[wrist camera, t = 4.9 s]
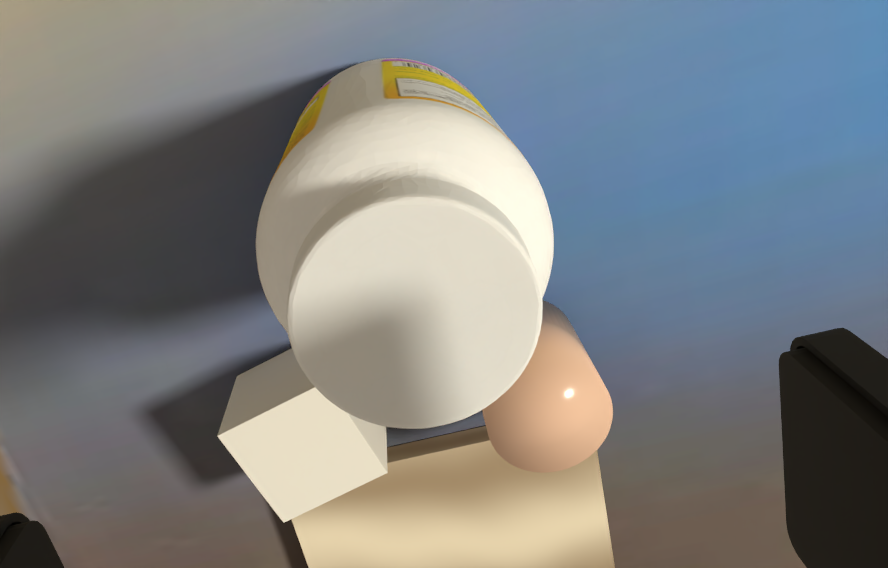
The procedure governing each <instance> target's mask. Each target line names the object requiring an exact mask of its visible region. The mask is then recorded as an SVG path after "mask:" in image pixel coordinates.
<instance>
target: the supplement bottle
mask: <svg viewBox="0 0 888 568" xmlns="http://www.w3.org/2000/svg"><path fill="white" fill-rule="evenodd" d="M553 248H554V241H553V226H552V220H551V216H550V212H549V208H548V204H547V201H546V198H545V195H544V192H543V190H542V187H541V185H540V183H539V181H538V179H537V177H536V175H535V173H534V171H533V170H532V168H531V167H530V165H529V164H528V162H527V161H526V159H525V158H524V156H523V155H522V154H521V152H520V151H519V150H518V149H517V147H516V146H515V145H514V144H513V142H512V141H511V140H510V139H509V138H508V137H507V136H506V134H505V133H504V132H503V131H502V129H501V128H500V127H499V126H498V124H497V123H496V122H495V121H494V119H493V118H492V117H491V116H490V115H489V113H488V112H487V111H486V110H485V108H484V107H483V106H482V105H481V104H480V102H479V101H478V100H477V99H476V98H475V96H474V95H473V94H472V93H471V92H470V91H469V90H468V89H467V88H466V87H465V86H463V85H462V84H461V83H460V82H459V81H457V80H456V79H455V78H453V77H452V76H450V75H449V74H447V73H446V72H444V71H442V70H440V69H438V68H436V67H434V66H431V65H429V64H426V63H422V62H419V61H415V60H410V59H402V58H383V59H376V60H370V61H366V62H363V63H360V64H357V65H354V66H352V67H350V68H348V69H346V70H344V71H342V72H340V73H339V74H337V75H336V76H334V77H333V78H331V79H330V80H329V81H328V82H326V83H325V84H324V85H323V86H322V87H321V88H320V89H319V90H318V91H317V92H316V93H315V95H314V96H313V97H312V99H311V100H310V101H309V103H308V104H307V105H306V107H305V109H304V111H303V112H302V114H301V116H300V117H299V119H298V122H297V124H296V127H295V129H294V131H293V133H292V135H291V138H290V140H289V143H288V145H287V147H286V150H285V152H284V154H283V157H282V159H281V161H280V164H279V166H278V168H277V170H276V172H275V174H274V176H273V178H272V180H271V182H270V185H269V187H268V190H267V192H266V195H265V198H264V201H263V204H262V207H261V211H260V214H259V220H258V225H257V234H256V257H257V265H258V272H259V277H260V281H261V284H262V287H263V290H264V293H265V296H266V298H267V300H268V302H269V304H270V306H271V308H272V310H273V312H274V314H275V315H276V317H277V319H278V320H279V322H280V323H281V325H282V326H283V327H284V329H285V330H286V331H287V333H288V336H289V340H290V343H291V347H292V350H293V352H294V355H295V357H296V360H297V361H298V363H299V365H300V367H301V369H302V370H303V372H304V373H305V375H306V376H307V378H308V379H309V381H310V382H311V383H312V384H313V385H314V386H315V388H316V389H317V390H318V391H319V392H320V393H321V394H322V395H323V396H324V397H325V398H327V399H328V400H329V401H330V402H332V403H333V404H335V405H336V406H337V407H339V408H340V409H341V410H343V411H345V412H347V413H349V414H351V415H353V416H355V417H357V418H359V419H362V420H364V421H367V422H370V423H373V424H377V425H381V426H386V427H393V428H405V429H421V428H430V427H437V426H441V425H446V424H449V423H453V422H456V421H459V420H462V419H465V418H467V417H469V416H471V415H473V414H475V413H477V412H479V411H481V410H483V409H484V408H486V407H487V406H489V405H490V404H492V403H493V402H494V401H496V400H497V399H498V398H499V397H500V396H501V395H503V394H504V393H505V392H506V391H507V390H508V389H509V388H510V387H511V386H512V385H513V384H514V383H515V382H516V380H517V379H518V378H519V377H520V375H521V374H522V372H523V371H524V369H525V368H526V366H527V364H528V363H529V361H530V359H531V357H532V355H533V353H534V350H535V348H536V345H537V342H538V337H539V335H540V330H541V324H542V310H543V302H542V298H543V295H544V293H545V290H546V287H547V284H548V280H549V277H550V273H551V268H552V261H553Z"/></svg>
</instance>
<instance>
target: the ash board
mask: <svg viewBox="0 0 888 568" xmlns="http://www.w3.org/2000/svg"><path fill="white" fill-rule="evenodd" d="M387 470H388V473H386V474H384V475H382V476H380V477H378V478H376V479H374V480H372V481H370V482H368V483H366V484H363V485H361V486H359V487H357V488H355V489H353V490H351V491H349V492H347V493H345V494H343V495H341V496H339V497H336V498H334V499H332V500H330V501H328V502H326V503H324V504H322V505H320V506H318V507H316V508H314V509H312V510H309V511H307V512H305V513H303V514H301V515H299V516H297V517H295V518H293V519H292V522H293V525H294V528H295V531H296V534H297V536H298V539H299V542H300V545H301V548H302V550H303V553H304V556H305V559H306V562H307V565H308V567H309V568H615V566H614V559H613V553H612V546H611V540H610V533H609V527H608V520H607V513H606V507H605V500H604V494H603V487H602V480H601V474H600V467H599V461H598V454H597V450H596V451H595V452H594V453H593V454H592V455H591V456H590V457H588V458H587V459H585V460H584V461H582V462H581V463H579V464H577V465H575V466H573V467H570V468H568V469H564V470H561V471H556V472H547V473H540V472H531V471H526V470H523V469H520V468H518V467H515V466H513V465H511V464H510V463H508V462H507V461H505V460H504V459H503V458H502V457H501V456H500V455H499V454H498V453H497V452H496V450H495V449H494V447H493V446H492V444H491V441H490V439H489V436H488V432H487V428H486V426H483V427H478V428H474V429H469V430H465V431H460V432H456V433H451V434H447V435H442V436H438V437H433V438H429V439H424V440H420V441H415V442H411V443H406V444H402V445H397V446H393V447H388V448H387Z"/></svg>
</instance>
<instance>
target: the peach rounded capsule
mask: <svg viewBox="0 0 888 568" xmlns="http://www.w3.org/2000/svg"><path fill="white" fill-rule="evenodd" d="M542 302H543V310H542V324H541V330H540V335H539V337H538V342H537V345H536V348H535V350H534V353H533V355H532V357H531V359H530V361H529V363H528V364H527V366H526V368H525V369H524V371H523V372H522V374H521V375H520V377H519V378H518V379H517V380H516V382H515V383H514V384H513V385H512V386H511V387H510V388H509V389H508V390H507V391H506V392H505V393H504V394H503V395H501V396H500V397H499V398H498V399H497V400H496V401H494V402H493V403H492V404H490V405H489V406H487V407H486V408H484V409H483V410H482V411H483V416H484V420H485V424H486V428H487V432H488V436H489V439H490V441H491V444H492V446H493V447H494V449H495V450H496V452H497V453H498V454H499V455H500V456H501V457H502V458H503V459H504V460H505V461H507V462H508V463H510V464H511V465H513V466H515V467H518V468H520V469H523V470H526V471H531V472H540V473H547V472H556V471H561V470H564V469H568V468H570V467H573V466H575V465H577V464H579V463H581V462H582V461H584V460H585V459H587V458H588V457H590V456H591V455H592V454H593V453H594V452H595V451H596V450H597V449H598V448H599V447H600V446H601V444H602V443H603V441H604V440H605V438H606V436H607V435H608V432H609V430H610V427H611V423H612V417H613V406H612V401H611V398H610V395H609V392H608V391H607V389H606V387H605V385H604V383H603V381H602V380H601V378H600V376H599V374H598V372H597V371H596V369H595V367H594V365H593V363H592V361H591V360H590V358H589V356H588V354H587V352H586V350H585V349H584V347H583V345H582V343H581V341H580V339H579V338H578V336H577V334H576V332H575V330H574V329H573V327H572V325H571V323H570V321H569V320H568V318H567V317H566V316H565V314H564V313H563V312H562V311H561V310H560V309H558V308H557V307H556V306H554V305H552V304H550V303H548V302H546V301H543V300H542Z"/></svg>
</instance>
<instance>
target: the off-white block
mask: <svg viewBox="0 0 888 568" xmlns="http://www.w3.org/2000/svg"><path fill="white" fill-rule="evenodd" d="M217 436H218V438H219V439H220V440H221V442H222V443H223V444H224V446H225V447H226V448H227V449H228V451H229V452H230V453H231V455H232V456H233V457H234V459H235V460H236V461H237V463H238V464H239V465H240V467H241V468H242V469H243V470H244V472H245V473H246V474H247V476H248V477H249V478H250V480H251V481H252V482H253V484H254V485H255V486H256V487H257V489H258V490H259V491H260V493H261V494H262V495H263V497H264V498H265V499H266V501H267V502H268V503H269V504H270V506H271V507H272V508H273V510H274V511H275V512H276V514H277V515H278V516H279V518H280V519H281V520H282V521H283V523H285V522H287V521H289V520H291V519H293V518H295V517H297V516H299V515H301V514H303V513H305V512H307V511H309V510H312V509H314V508H316V507H318V506H320V505H322V504H324V503H326V502H328V501H330V500H332V499H334V498H336V497H339V496H341V495H343V494H345V493H347V492H349V491H351V490H353V489H355V488H357V487H359V486H361V485H363V484H366V483H368V482H370V481H372V480H374V479H376V478H378V477H380V476H382V475H384V474H386V473H388V470H387V438H386V426H381V425H377V424H373V423H370V422H367V421H364V420H362V419H359V418H357V417H355V416H353V415H351V414H349V413H347V412H345V411H343V410H341V409H340V408H339V407H337V406H336V405H335V404H333V403H332V402H330V401H329V400H328V399H327V398H325V397H324V396H323V395H322V394H321V393H320V392H319V391H318V390H317V389H316V388H315V386H314V385H313V384H312V383H311V382H310V381H309V379H308V378H307V376H306V375H305V373H304V372H303V370H302V369H301V367H300V365H299V363H298V361H297V360H296V357H295V355H294V352H293V350H292V348H291V349H289V350H287V351H285V352H283V353H281V354H279V355H277V356H275V357H273V358H271V359H269V360H267V361H265V362H264V363H262V364H260V365H258V366H256V367H254V368H252V369H250V370H248V371H246V372H244V373H242V374H240V375H238V376H237V377H236V380H235V383H234V387H233V390H232V393H231V396H230V399H229V402H228V405H227V408H226V411H225V414H224V417H223V420H222V423H221V426H220V429H219V432H218V435H217Z"/></svg>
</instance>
